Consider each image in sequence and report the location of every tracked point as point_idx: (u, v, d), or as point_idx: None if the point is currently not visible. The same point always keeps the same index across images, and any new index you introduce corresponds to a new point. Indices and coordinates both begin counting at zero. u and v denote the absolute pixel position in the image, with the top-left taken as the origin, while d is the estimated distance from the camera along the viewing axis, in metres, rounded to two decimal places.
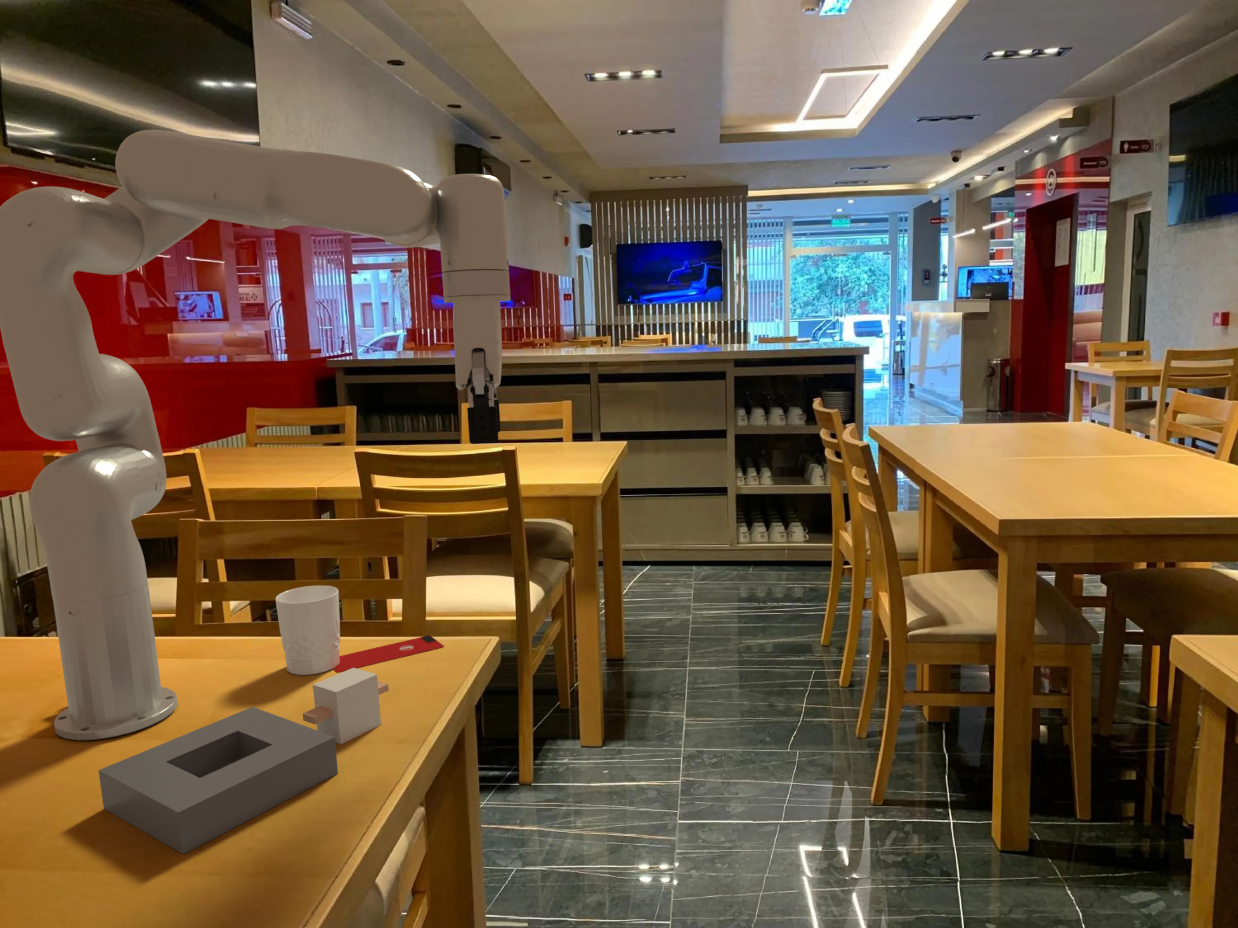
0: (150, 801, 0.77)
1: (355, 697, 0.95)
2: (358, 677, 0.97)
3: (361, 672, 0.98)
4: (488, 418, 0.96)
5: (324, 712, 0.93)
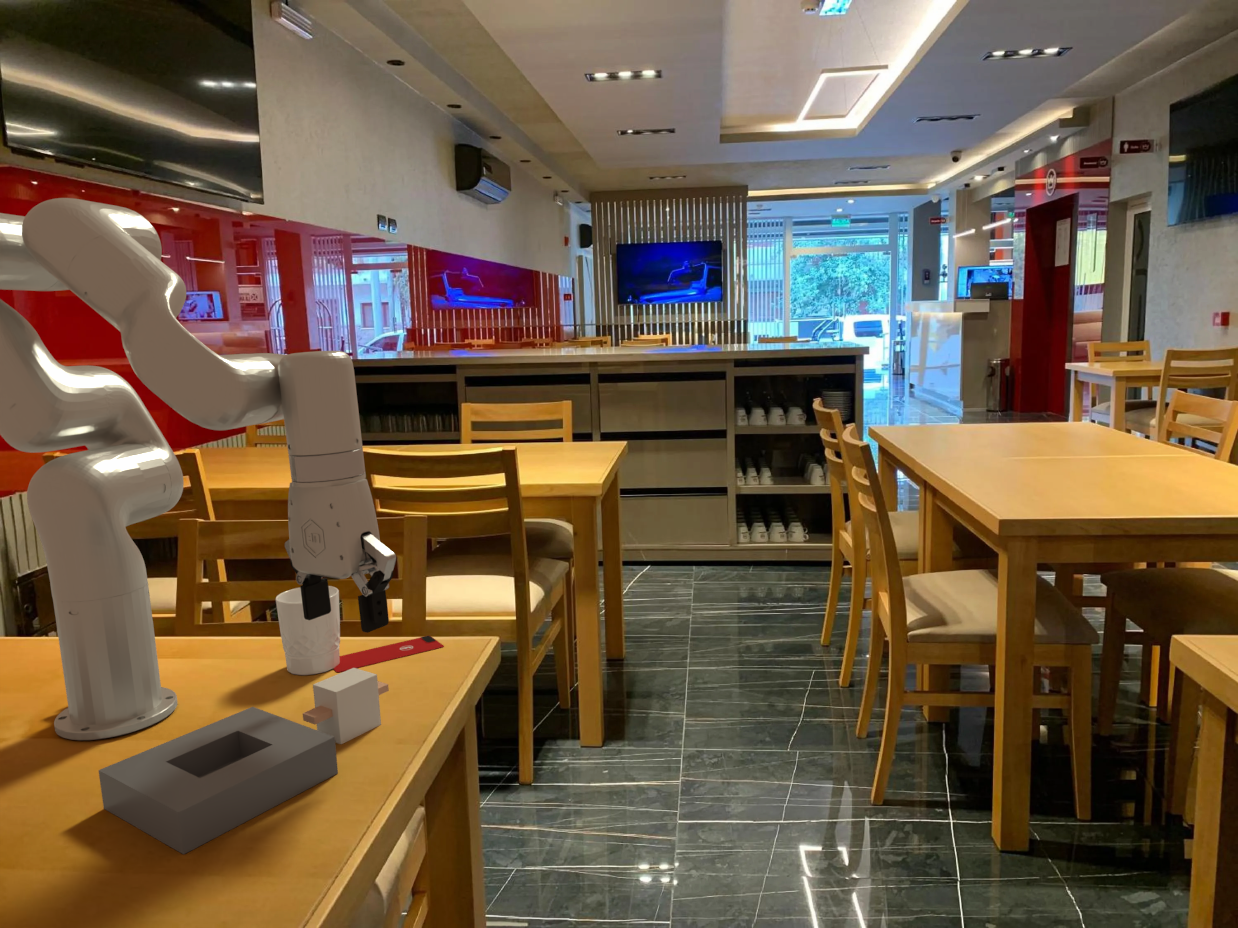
0: (150, 801, 0.77)
1: (355, 697, 0.95)
2: (358, 677, 0.97)
3: (361, 672, 0.98)
4: (384, 602, 0.92)
5: (324, 712, 0.93)
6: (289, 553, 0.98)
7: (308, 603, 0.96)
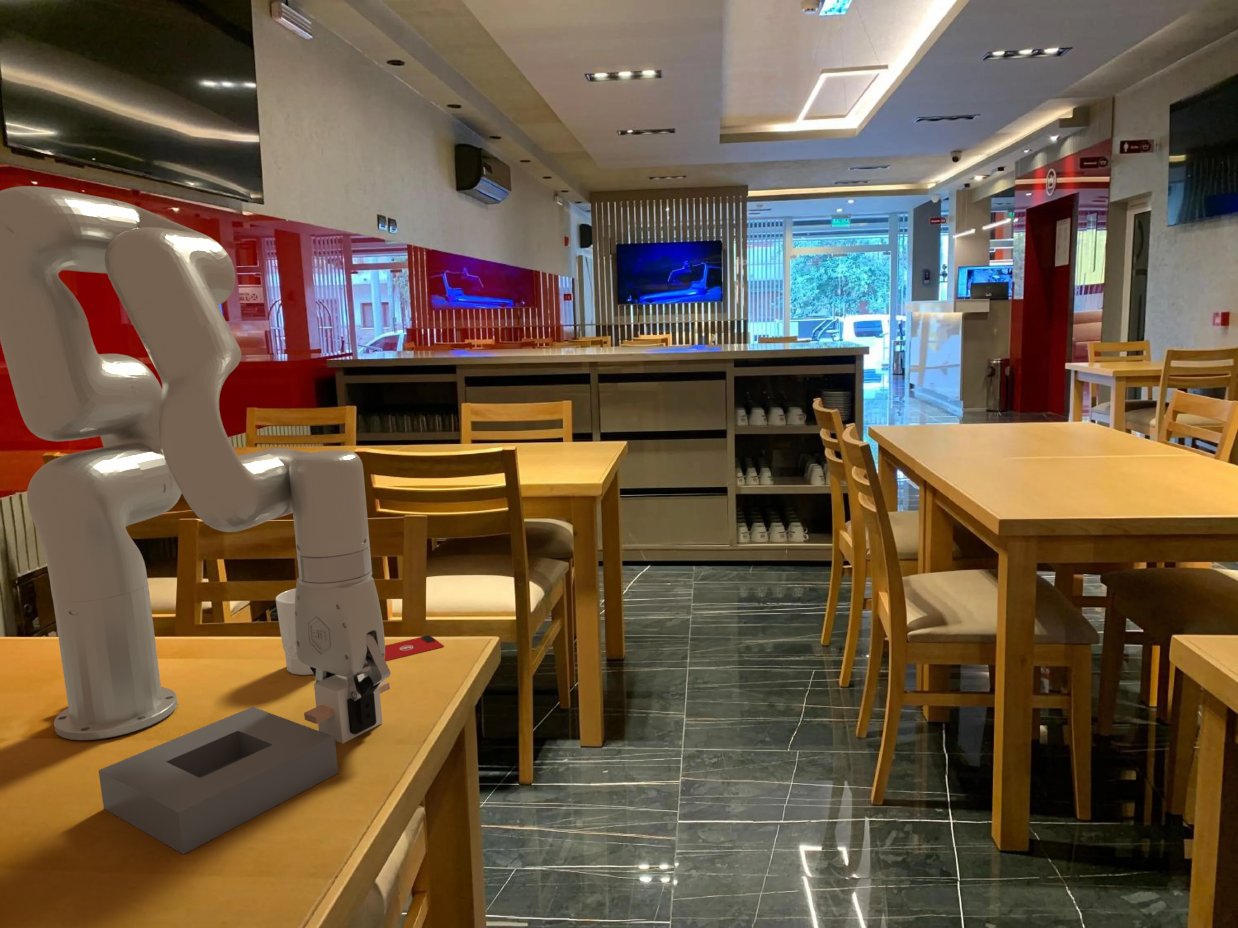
0: (150, 801, 0.77)
1: None
2: (359, 676, 0.97)
3: None
4: (372, 704, 0.95)
5: (326, 711, 0.93)
6: None
7: None
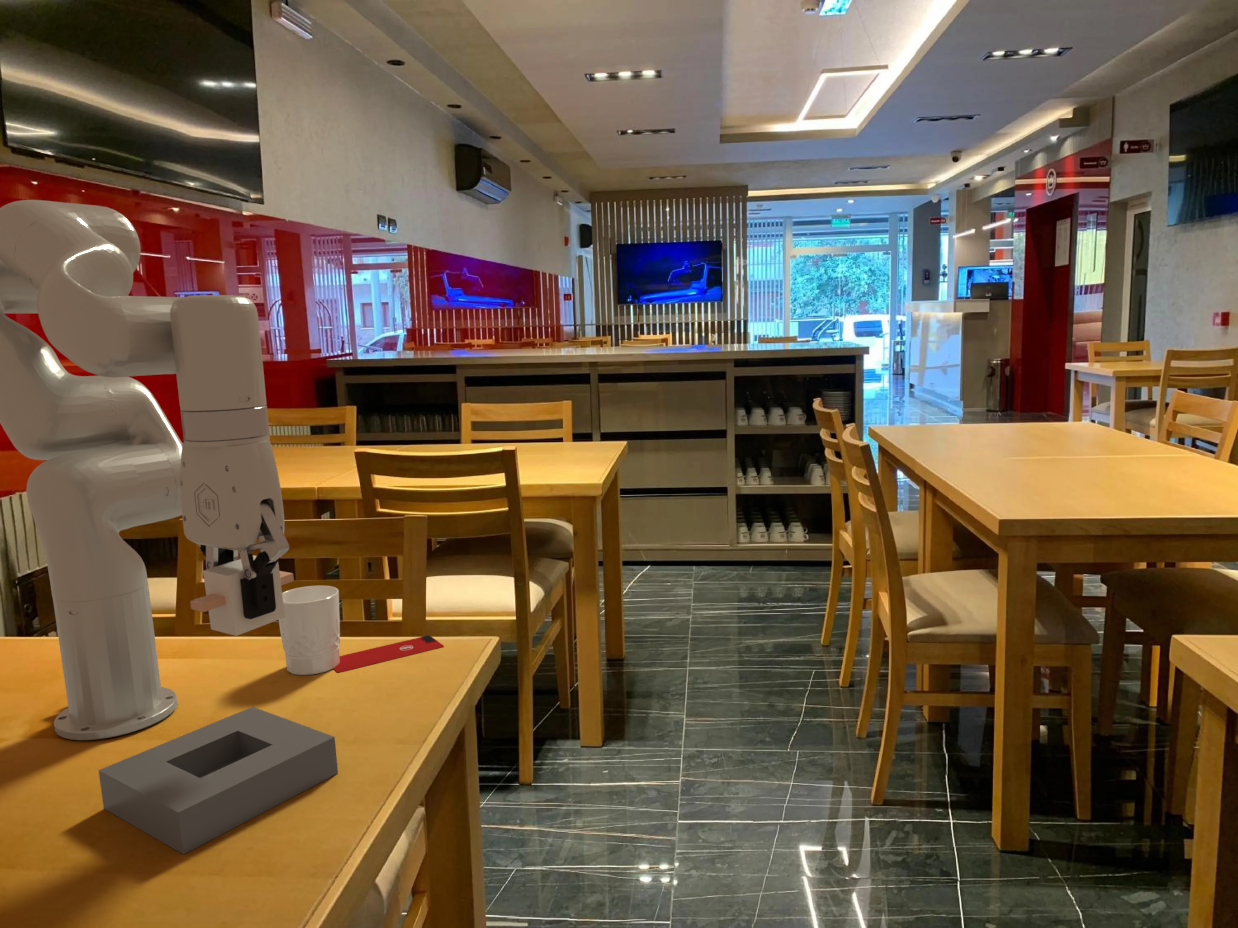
0: (150, 801, 0.77)
1: None
2: None
3: None
4: (270, 586, 0.84)
5: (216, 598, 0.82)
6: None
7: None
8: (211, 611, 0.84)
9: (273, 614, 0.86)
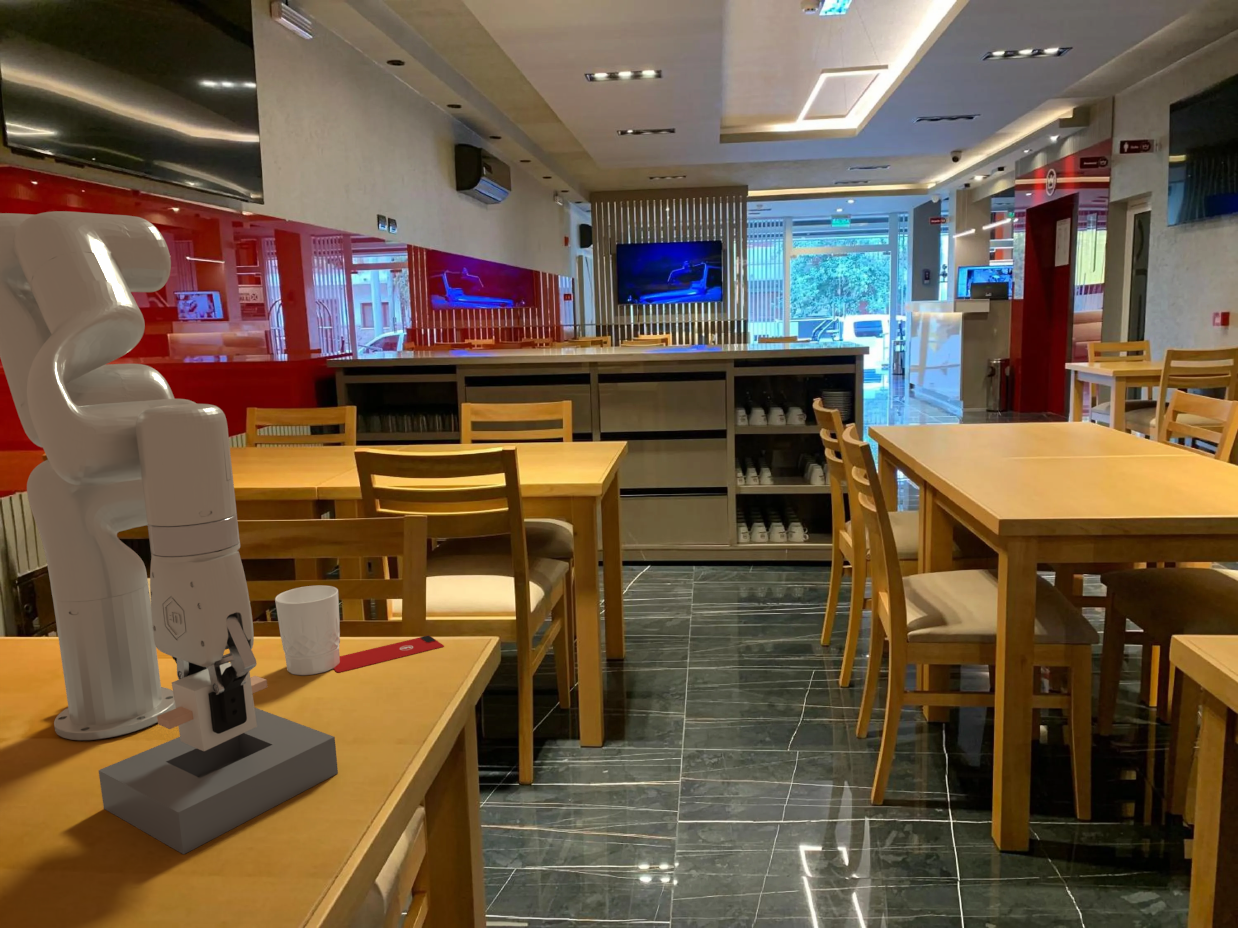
0: (150, 801, 0.77)
1: None
2: None
3: None
4: (240, 699, 0.82)
5: (183, 714, 0.80)
6: None
7: None
8: (180, 723, 0.83)
9: (244, 725, 0.84)
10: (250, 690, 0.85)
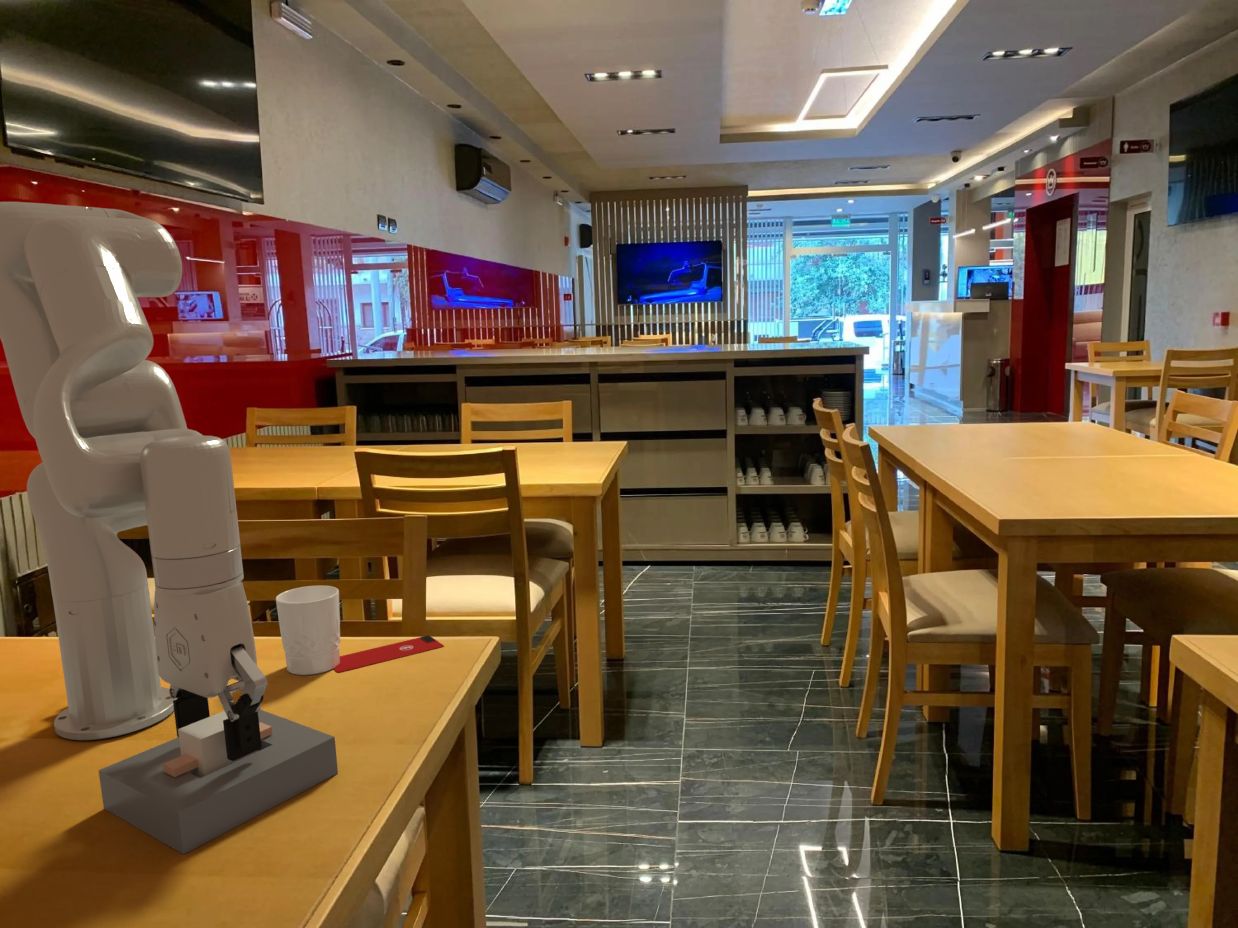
0: (150, 801, 0.77)
1: None
2: None
3: None
4: (254, 725, 0.82)
5: (188, 762, 0.81)
6: None
7: (181, 720, 0.85)
8: None
9: None
10: None
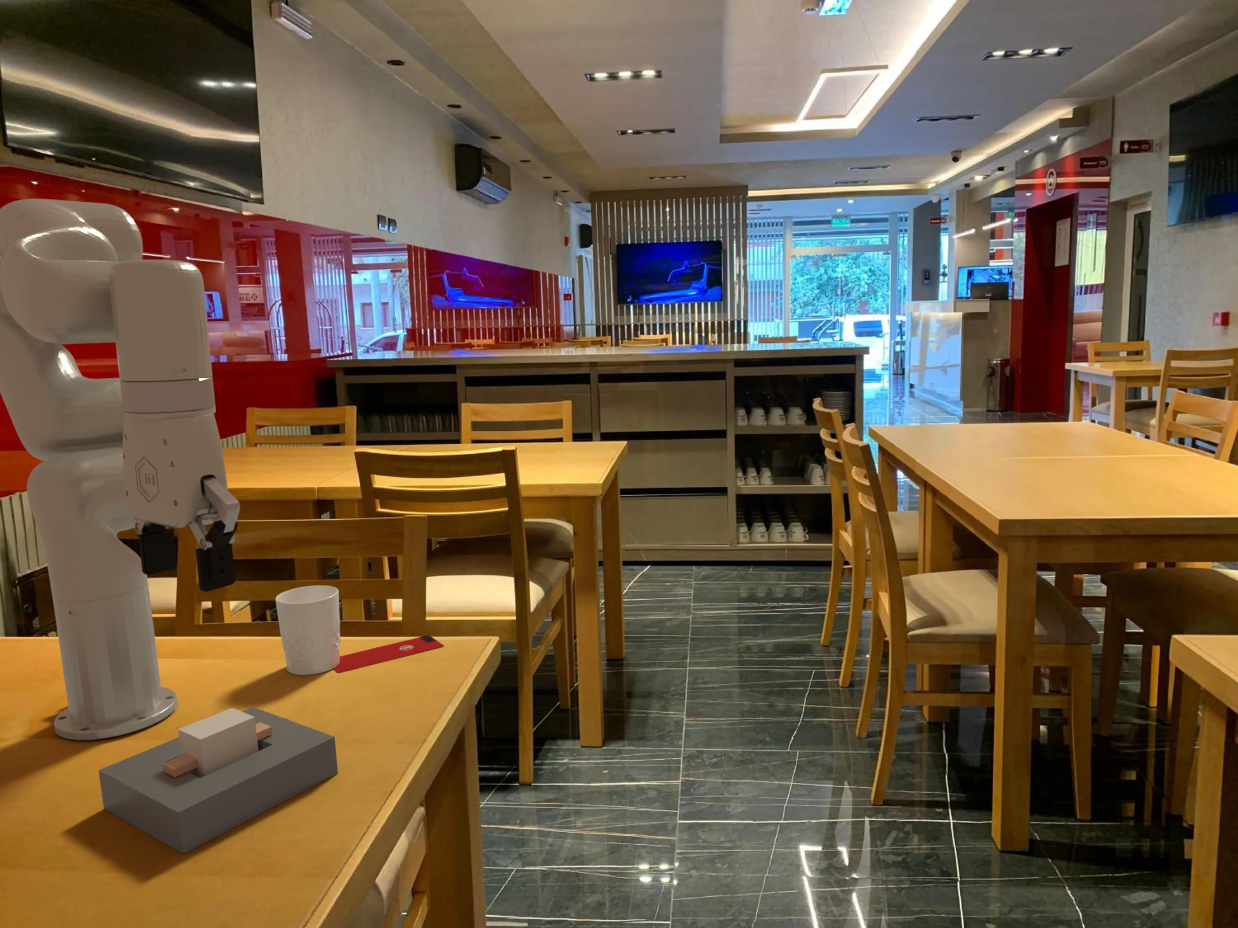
0: (150, 801, 0.77)
1: (226, 744, 0.83)
2: (232, 720, 0.84)
3: (238, 714, 0.86)
4: (228, 557, 0.79)
5: (188, 762, 0.81)
6: None
7: (147, 555, 0.84)
8: None
9: None
10: (255, 738, 0.85)
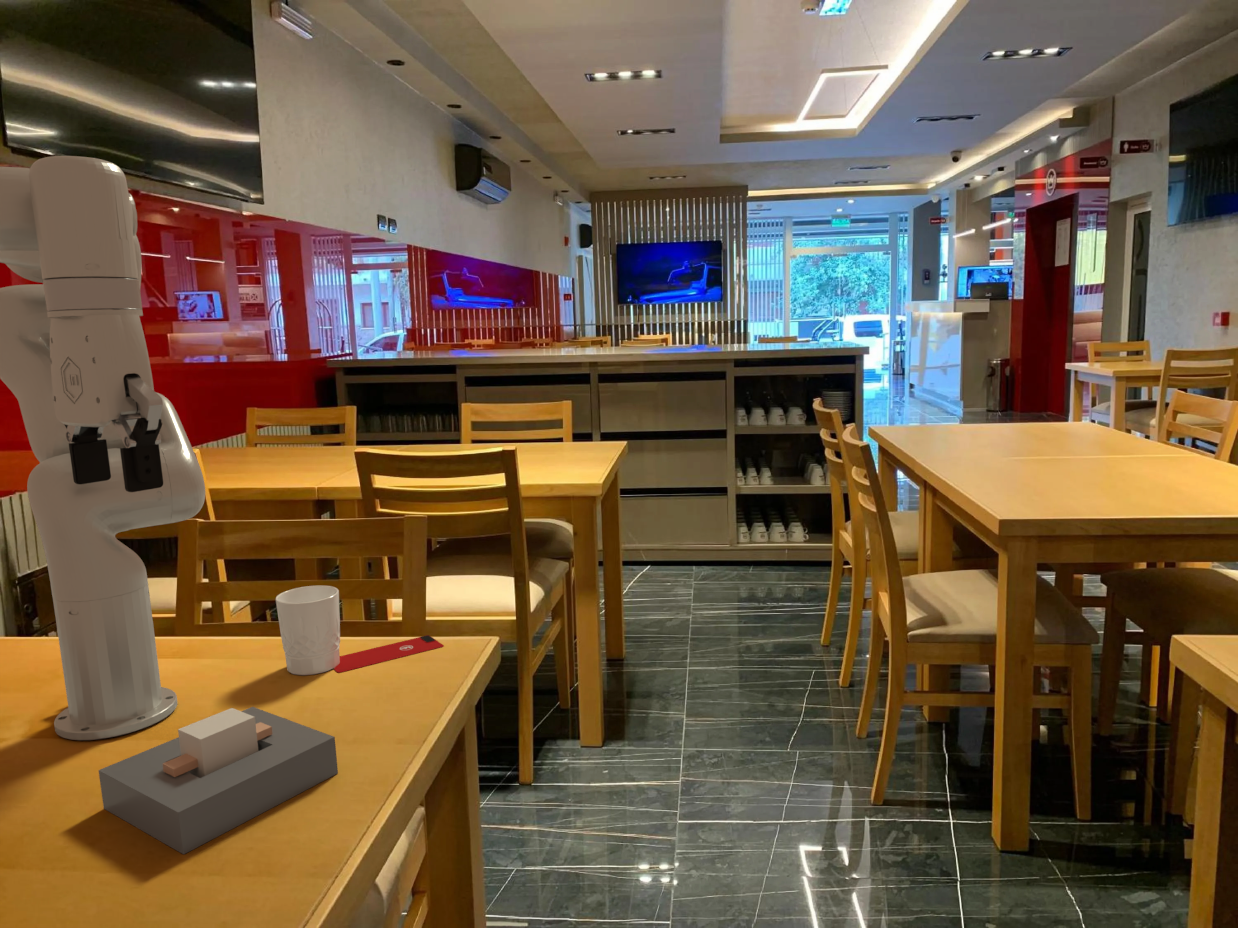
0: (150, 801, 0.77)
1: (226, 744, 0.83)
2: (232, 720, 0.84)
3: (238, 714, 0.86)
4: (154, 458, 0.79)
5: (188, 762, 0.81)
6: None
7: (78, 464, 0.83)
8: None
9: None
10: (255, 738, 0.85)
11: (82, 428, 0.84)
